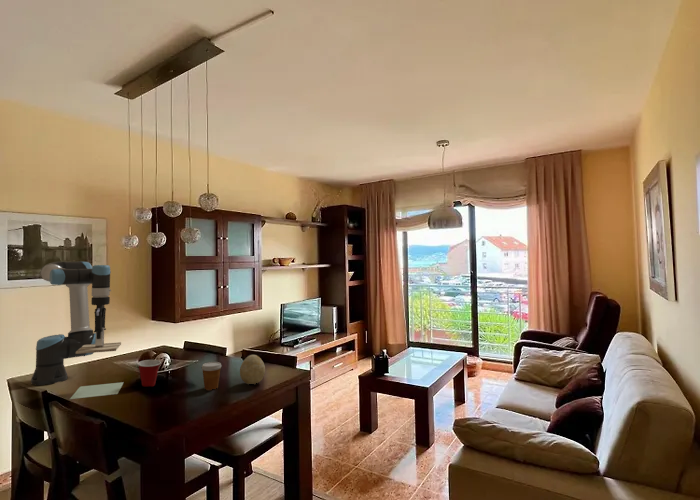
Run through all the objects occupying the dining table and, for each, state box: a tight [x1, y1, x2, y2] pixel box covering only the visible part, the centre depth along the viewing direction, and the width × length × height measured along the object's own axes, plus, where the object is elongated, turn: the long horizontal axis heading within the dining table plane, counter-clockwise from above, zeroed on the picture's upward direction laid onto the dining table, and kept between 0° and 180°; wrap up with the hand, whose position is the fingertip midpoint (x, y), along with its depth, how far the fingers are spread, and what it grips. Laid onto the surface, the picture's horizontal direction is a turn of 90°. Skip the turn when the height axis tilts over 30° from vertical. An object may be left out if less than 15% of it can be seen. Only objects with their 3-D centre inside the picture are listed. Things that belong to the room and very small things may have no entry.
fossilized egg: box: [239, 354, 266, 385], centre depth 201 cm, size 13×13×15 cm
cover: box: [76, 328, 122, 354], centre depth 190 cm, size 16×16×10 cm
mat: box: [69, 381, 124, 400], centre depth 189 cm, size 19×19×1 cm
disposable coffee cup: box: [201, 361, 223, 391], centre depth 194 cm, size 10×10×12 cm
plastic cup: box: [137, 359, 162, 388], centre depth 198 cm, size 11×11×12 cm
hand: (99, 344), depth 190 cm, fingers closed on cover, 3 cm apart
